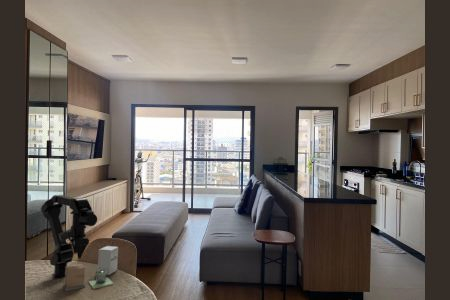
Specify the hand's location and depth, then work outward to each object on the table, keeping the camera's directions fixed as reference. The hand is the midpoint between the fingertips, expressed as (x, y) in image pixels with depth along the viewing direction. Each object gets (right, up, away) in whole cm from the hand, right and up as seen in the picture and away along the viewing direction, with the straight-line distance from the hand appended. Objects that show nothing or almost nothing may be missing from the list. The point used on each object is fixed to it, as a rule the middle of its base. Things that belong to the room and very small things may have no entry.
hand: (77, 255), depth 145 cm
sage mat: (+13, -12, -3) cm, 18 cm away
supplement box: (+10, -13, +12) cm, 21 cm away
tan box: (+2, -12, -7) cm, 14 cm away
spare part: (+13, -12, -3) cm, 18 cm away
